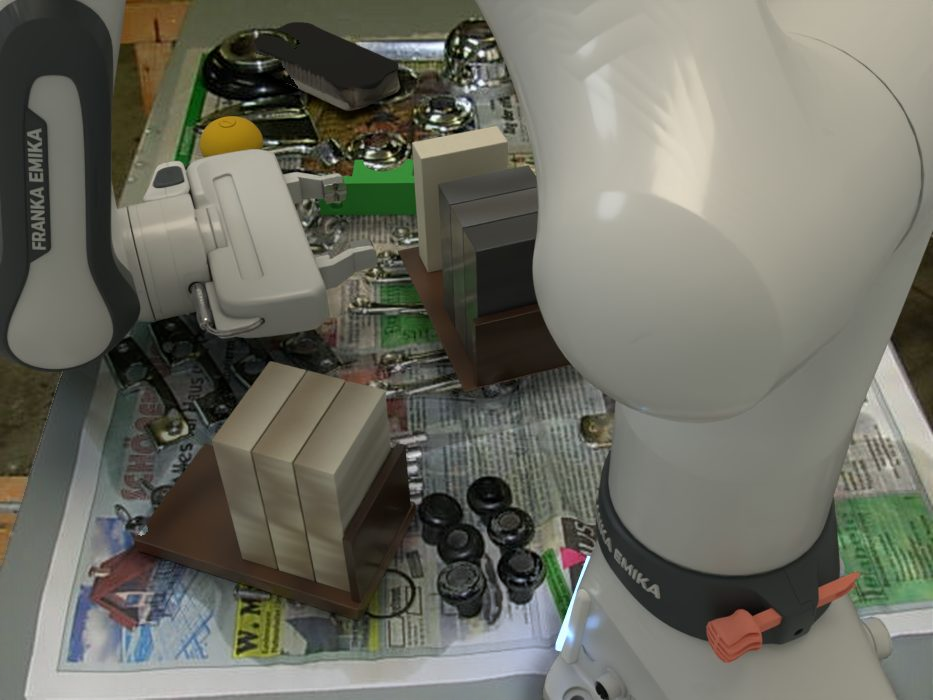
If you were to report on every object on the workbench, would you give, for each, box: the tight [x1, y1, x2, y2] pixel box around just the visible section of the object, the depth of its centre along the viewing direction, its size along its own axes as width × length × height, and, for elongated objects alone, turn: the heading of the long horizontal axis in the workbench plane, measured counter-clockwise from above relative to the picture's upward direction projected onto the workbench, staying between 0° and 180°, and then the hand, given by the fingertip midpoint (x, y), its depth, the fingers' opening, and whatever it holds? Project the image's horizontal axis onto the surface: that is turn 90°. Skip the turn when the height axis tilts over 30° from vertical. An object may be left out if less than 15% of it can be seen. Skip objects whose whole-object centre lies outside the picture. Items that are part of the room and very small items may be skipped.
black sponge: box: [252, 21, 401, 112], centre depth 116 cm, size 16×8×4 cm, turn 48°
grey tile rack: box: [397, 164, 573, 393], centre depth 85 cm, size 18×10×13 cm, turn 18°
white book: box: [411, 125, 509, 272], centre depth 89 cm, size 2×7×11 cm, turn 108°
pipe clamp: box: [318, 158, 417, 216], centre depth 98 cm, size 11×4×5 cm, turn 89°
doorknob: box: [198, 115, 264, 158], centre depth 100 cm, size 8×8×8 cm
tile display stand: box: [133, 360, 417, 622], centre depth 69 cm, size 16×9×12 cm, turn 69°
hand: (359, 217), depth 87 cm, fingers open, 8 cm apart
